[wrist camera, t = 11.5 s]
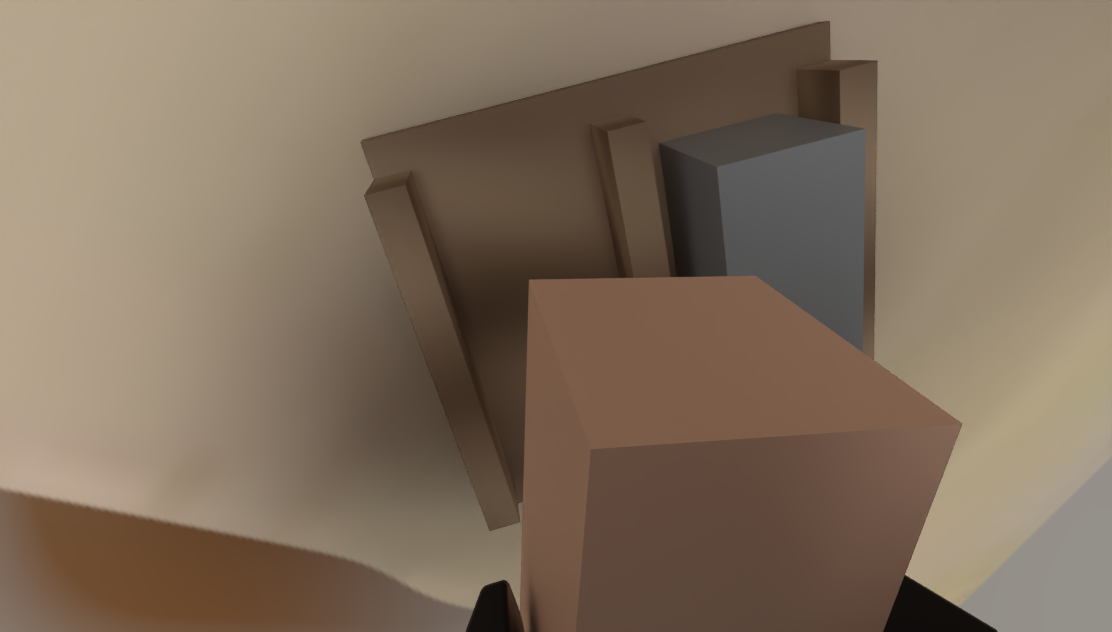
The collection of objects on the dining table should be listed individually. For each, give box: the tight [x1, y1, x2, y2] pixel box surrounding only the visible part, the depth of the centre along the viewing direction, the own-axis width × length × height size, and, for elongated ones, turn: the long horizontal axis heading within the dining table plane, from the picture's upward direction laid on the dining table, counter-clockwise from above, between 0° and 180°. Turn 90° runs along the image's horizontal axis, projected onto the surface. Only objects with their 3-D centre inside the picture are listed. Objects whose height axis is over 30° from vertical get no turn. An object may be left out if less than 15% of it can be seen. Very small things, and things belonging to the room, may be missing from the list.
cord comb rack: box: [361, 21, 878, 531], centre depth 18 cm, size 13×13×2 cm
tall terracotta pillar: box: [520, 276, 962, 632], centre depth 9 cm, size 9×4×4 cm, turn 178°
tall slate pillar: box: [659, 113, 866, 352], centre depth 17 cm, size 9×4×4 cm, turn 13°
